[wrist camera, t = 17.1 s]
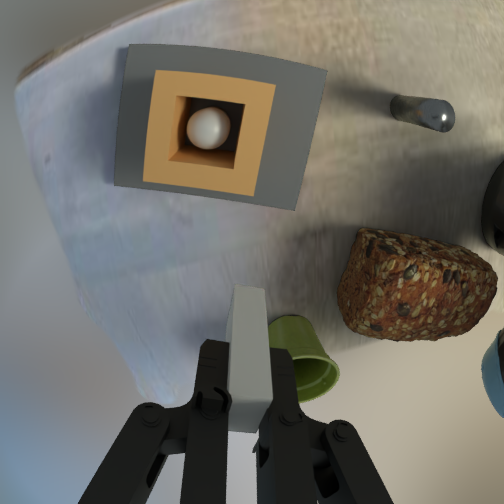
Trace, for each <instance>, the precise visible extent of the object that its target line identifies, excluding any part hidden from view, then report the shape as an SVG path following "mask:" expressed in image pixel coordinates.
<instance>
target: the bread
mask: <svg viewBox="0 0 504 504" xmlns="http://www.w3.org/2000/svg"><path fill="white" fill-rule="evenodd" d="M497 281H498V277H497V275H496V272H494V271H493V269H492V266H491V265H490V264H489V263H488V262H486V261H484V260H483V259H482V258H481V257H479V256H478V254H476V253H473V252H471V250H468V249H466V248H464V247H462V246H456V245H451V244H446V243H444V242H440V241H437V240H431V239H428V238H422V237H419V236H414V235H409V234H404V233H399V234H398V233H395V232H389V231H381V230H374V229H369V228H367V229H365V228H362V229H360V230H359V231H358V233H357V235H356V241H355V242H354V244H353V246H352V249H351V254H350V260H349V261H348V265H347V269H346V270H345V272H344V273H343V275H342V278H341V281H340V284H339V286H338V290H337V299H338V306H339V310H340V312H341V314H342V316H343V321H344V322H345V324H346V326H347V327H348V328H349V329H351V330H352V331H353V332H357V333H359V334H362V335H364V336H367V337H371V338H377V339H381V340H382V339H388V340H393V341H397V342H398V341H410V342H411V341H414V340H430V341H437V340H438V339H441V338H444V337H451V336H458V335H462V334H464V333H466V332H468V331H470V330H471V329H472V328H473V327H474V326H475V325H476V324H478V322H479V320H480V319H481V318H482V317H484V315H485V314H486V313H487V311H488V309H489V307H490V305H491V303H492V300H493V299H494V297H495V295H496V292H497V287H496V286H497Z"/></svg>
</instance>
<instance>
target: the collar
mask: <svg viewBox="0 0 504 504" xmlns="http://www.w3.org/2000/svg"><path fill="white" fill-rule="evenodd" d="M275 87H276V85H274V84H269V83H264V82H258V81H252V80H247V79H240V78H234V77H227V76H219V75H211V74H203V73H193V72H181V71H166V70H156V72H155V78H154V84H153V91H152V98H151V105H150V112H149V120H148V129H147V138H146V148H145V159H144V172H143V181H145V182H154V183H162V184H170V185H178V186H186V187H194V188H201V189H208V190H215V191H222V192H229V193H235V194H242V195H248V196H254V191H255V186H256V181H257V176H258V171H259V166H260V161H261V156H262V151H263V146H264V141H265V136H266V131H267V126H268V121H269V117H270V112H271V107H272V102H273V97H274V92H275ZM192 97H197V98H205V99H213V100H221V101H228V102H235V103H241V104H243V110H242V115H241V120H240V126H239V131H238V137H237V142H236V148H235V152H233V151H227V150H220V149H202V148H199V147H197V146H190V145H185V138H186V131H187V124H188V118H189V111H190V105H191V99H192Z"/></svg>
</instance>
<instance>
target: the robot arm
mask: <svg viewBox="0 0 504 504" xmlns="http://www.w3.org/2000/svg"><path fill="white" fill-rule="evenodd" d="M482 229H483V234H484V237H485V239H486V241H487V243H488V244H489V245H490V246H491V247H492V248H493V249H494V250H496V251H497V252H498V253H499V254H501V255H503V256H504V162H503V163H502V164H501V165H500V166H499V168H498V169H497V170H496V172H495V174H494V175H493V177H492V179H491V181H490V184H489V186H488V189H487V192H486V195H485V199H484V203H483V209H482ZM481 366H482V368H481V370H482V379H483V383H484V387H485V390H486V392H487V395H488V397H489V399H490V401H491V403H492V405H493V406H494V408H495V409H496V411H497V412H498V413H499V415H500V416H501V417H503V418H504V328H503V329H502V330H500V331H499V332H498V333H497V336H496V338H495V340H494V341H493V343H492V344H491V346H490V347H489V348H488V350H487V351H486V353H485V354H484V357H483V360H482V365H481ZM258 428H259V438H258V440H257V443H256V444H255V446H254V448H253V452H252V453H255V452H256V462H257V463H256V467H257V504H317V501H318V503H319V504H394V503H393V501H392V499H391V498H390V495H389V494H388V491H387V490H386V488H385V486H384V483H383V482H382V479H381V478H380V476H379V474H378V472H377V470H376V468H375V466H374V464H373V462H372V460H371V458H370V456H369V454H368V452H367V450H366V448H365V446H364V444H363V442H362V440H361V438H360V437H359V435H358V433H357V431H356V429H355V428H354V426H353V425H352V424H350V423H349V422H347V421H344V420H334V421H332V422H330V423H329V424H326V423H322V422H319V421H316V420H313V419H311V418H309V417H308V416H306V415H305V413H304V412H303V411H302V410H301V408H300V406H299V401H298V393H297V386H296V379H295V372H294V365H293V358H292V357H291V355H290V353H289V352H288V350H287V349H281V348H272V347H269V338H268V325H267V312H266V299H265V289H263V288H257V287H251V286H245V285H239V284H235V286H234V291H233V296H232V301H231V305H230V310H229V315H228V320H227V325H226V338H225V342H223V341H216V340H210V339H206V341H205V342H204V343H203V344H202V346H201V347H200V354H199V360H198V367H197V373H196V380H195V387H194V393H193V396H192V398H191V400H190V401H189V402H188V403H187V404H185V405H183V406H180V407H175V408H164V407H162V406H161V405H159V404H156V403H152V402H148V403H143V404H140V405H138V406H137V407H136V408H135V409H134V410H133V412H132V413H131V415H130V417H129V418H128V420H127V421H126V423H125V425H124V427H123V428H122V430H121V432H120V433H119V435H118V436H117V438H116V440H115V441H114V443H113V445H112V446H111V448H110V450H109V452H108V453H107V455H106V456H105V458H104V460H103V461H102V463H101V465H100V466H99V468H98V470H97V472H96V473H95V475H94V477H93V478H92V480H91V482H90V483H89V485H88V487H87V489H86V490H85V492H84V494H83V495H82V497H81V499H80V500H79V502H78V504H145V503H146V501H147V499H148V497H149V495H150V493H151V491H152V489H153V487H154V485H155V483H156V481H157V478H158V476H159V474H160V472H161V470H162V468H163V466H164V464H165V462H166V459H167V457H168V455H170V454H180V453H185V461H184V470H183V479H182V488H181V498H180V504H226V479H227V478H226V477H227V447H228V431H235V432H246V433H256V432H257V430H258Z"/></svg>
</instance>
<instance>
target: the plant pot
mask: <svg viewBox="0 0 504 504" xmlns="http://www.w3.org/2000/svg"><path fill="white" fill-rule="evenodd" d="M268 338H269V347H272V348H281V349H287V350H288V352H289V353H290V355H291V357H292V358H293V365H294V372H295V379H296V386H297V393H298V401H299V403H303V402H307V401H310V400H314V399H316V398H318V397H320V396H322V395H324V394H325V393H327V392H328V391H329V390H331V389H332V388H333V387H334V385H335V384H336V383H337V381H338V379H339V376H340V371H339V368H338V366H337V364H336V363H335V362H334V361H333V360H332V359H330V357H329V356H328V355H327V354H326V353H325V351H324V349H323V347H322V345H321V343H320V341H319V339H318V337H317V335H316V333H315V331H314V329H313V327H312V325H311V323H310V322H309V321H308V320H307V319H306V318H304V317H301V316H283V317H281V318H278V319H277V320H275V321H274V322H272V323H271V324H270V325H269V327H268Z"/></svg>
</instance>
